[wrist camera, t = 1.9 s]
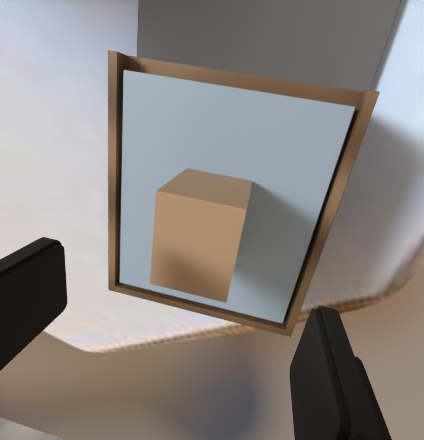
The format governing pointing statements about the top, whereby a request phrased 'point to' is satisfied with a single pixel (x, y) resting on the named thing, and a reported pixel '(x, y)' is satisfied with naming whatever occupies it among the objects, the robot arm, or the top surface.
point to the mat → (271, 37)
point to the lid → (222, 189)
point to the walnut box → (357, 99)
